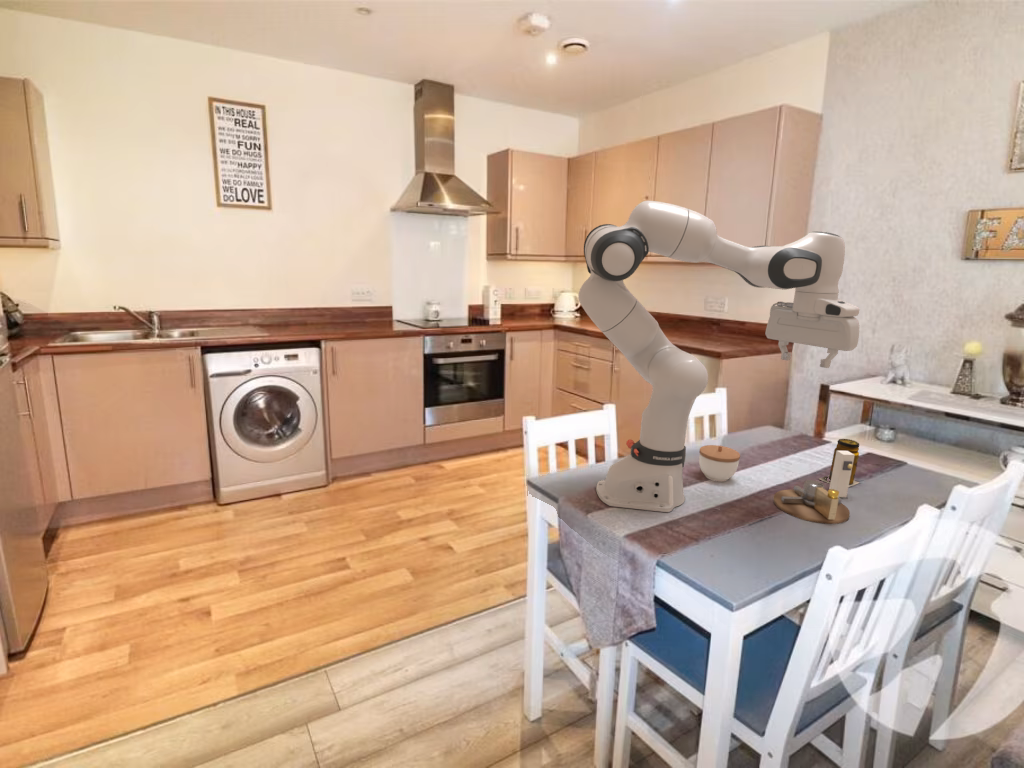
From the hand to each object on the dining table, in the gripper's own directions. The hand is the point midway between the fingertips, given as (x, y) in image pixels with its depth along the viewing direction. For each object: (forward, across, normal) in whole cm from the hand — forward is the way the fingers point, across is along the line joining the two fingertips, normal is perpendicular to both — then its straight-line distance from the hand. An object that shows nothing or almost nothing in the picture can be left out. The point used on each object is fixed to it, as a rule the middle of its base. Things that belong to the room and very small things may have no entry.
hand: (804, 363), depth 130 cm
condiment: (+37, 0, +30) cm, 48 cm away
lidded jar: (+37, -20, +1) cm, 42 cm away
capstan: (+36, +5, +6) cm, 36 cm away
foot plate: (+37, +4, +6) cm, 38 cm away
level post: (+37, +4, +20) cm, 42 cm away
